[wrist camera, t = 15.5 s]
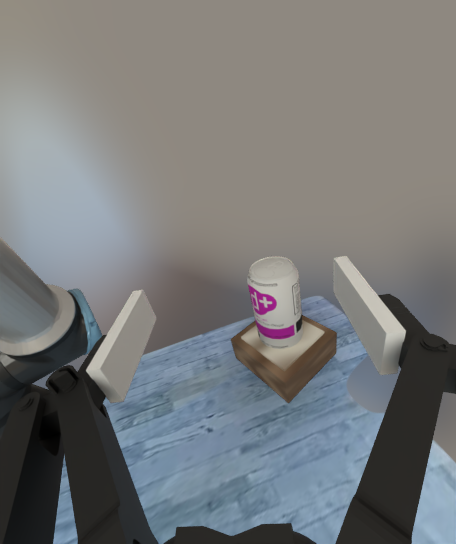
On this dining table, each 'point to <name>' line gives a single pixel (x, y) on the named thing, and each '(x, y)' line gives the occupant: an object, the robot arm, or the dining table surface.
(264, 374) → the walnut pedestal
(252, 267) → the supplement can
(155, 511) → the dining table surface
